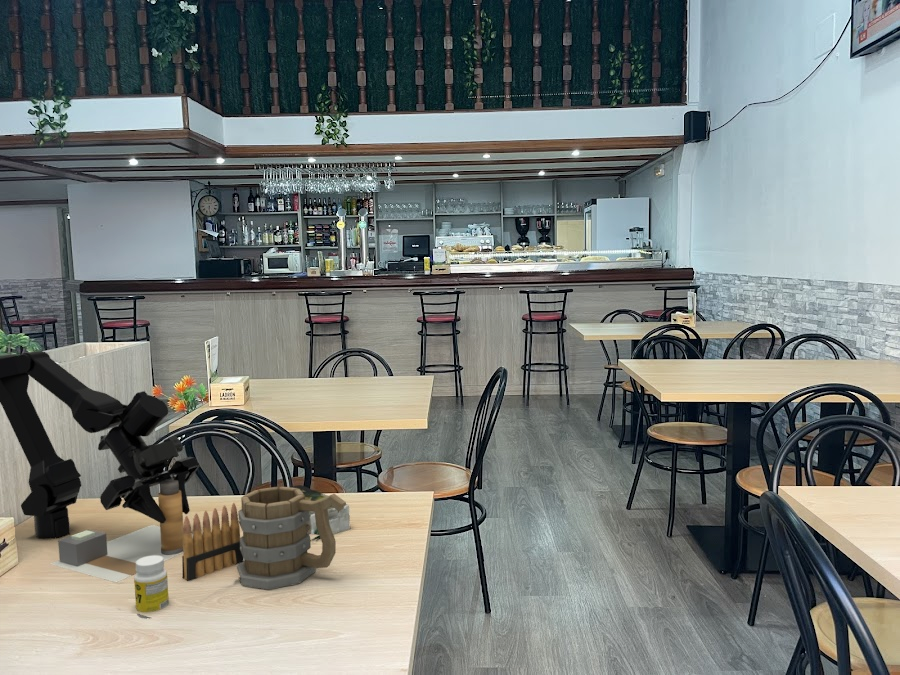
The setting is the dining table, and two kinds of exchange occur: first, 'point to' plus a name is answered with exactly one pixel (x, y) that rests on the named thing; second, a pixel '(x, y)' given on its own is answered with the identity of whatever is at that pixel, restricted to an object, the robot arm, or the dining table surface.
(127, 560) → the floor panel
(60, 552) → the grey cube-like block
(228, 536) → the ammunition clip
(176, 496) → the tan cylinder
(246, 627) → the dining table surface
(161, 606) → the supplement bottle
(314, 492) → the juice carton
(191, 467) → the robot arm
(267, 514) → the tankard
